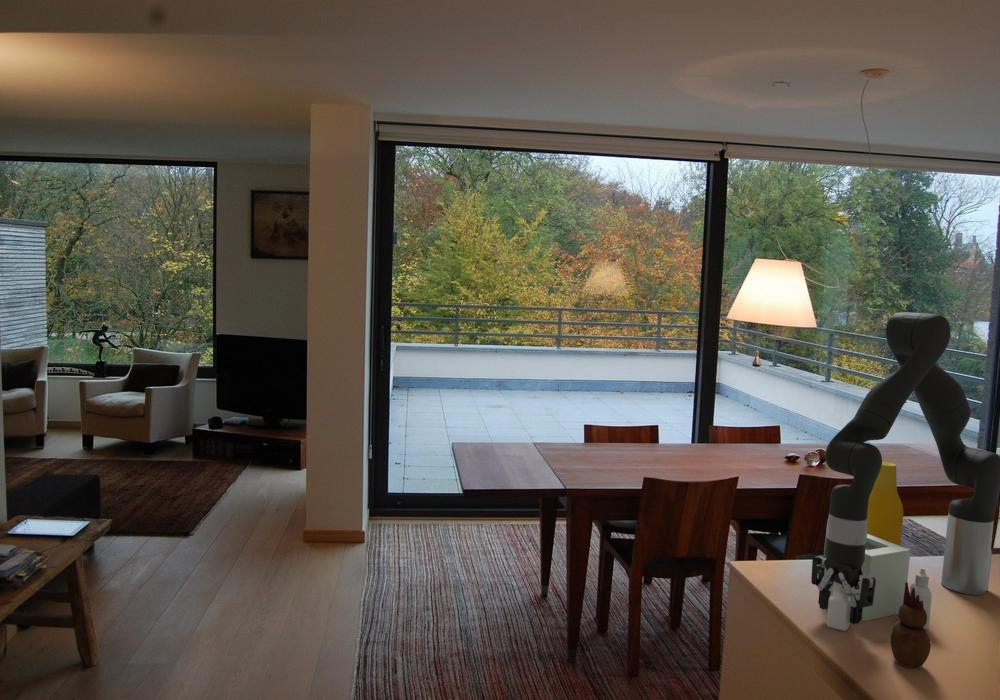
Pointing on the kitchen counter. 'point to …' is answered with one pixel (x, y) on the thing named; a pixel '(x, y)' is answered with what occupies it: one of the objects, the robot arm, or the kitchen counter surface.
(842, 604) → the salt shaker
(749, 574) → the kitchen counter surface
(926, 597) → the eye dropper bottle
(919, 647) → the wooden figurine
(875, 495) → the beer bottle
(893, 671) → the kitchen counter surface
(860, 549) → the robot arm
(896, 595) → the tissue box
